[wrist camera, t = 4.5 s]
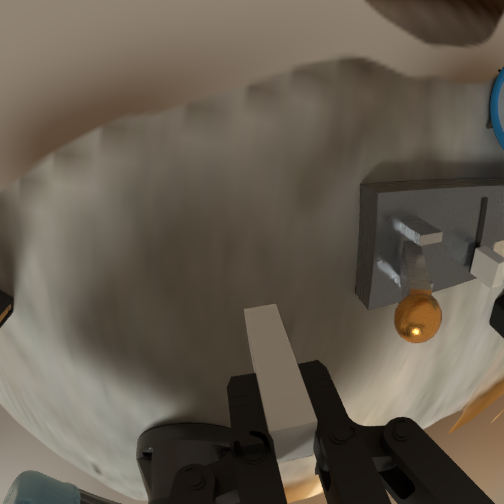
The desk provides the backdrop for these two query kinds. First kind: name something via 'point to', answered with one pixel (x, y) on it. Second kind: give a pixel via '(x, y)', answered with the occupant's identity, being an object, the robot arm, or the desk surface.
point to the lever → (416, 298)
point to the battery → (498, 316)
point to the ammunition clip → (5, 307)
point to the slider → (488, 267)
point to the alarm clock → (498, 108)
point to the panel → (425, 231)
